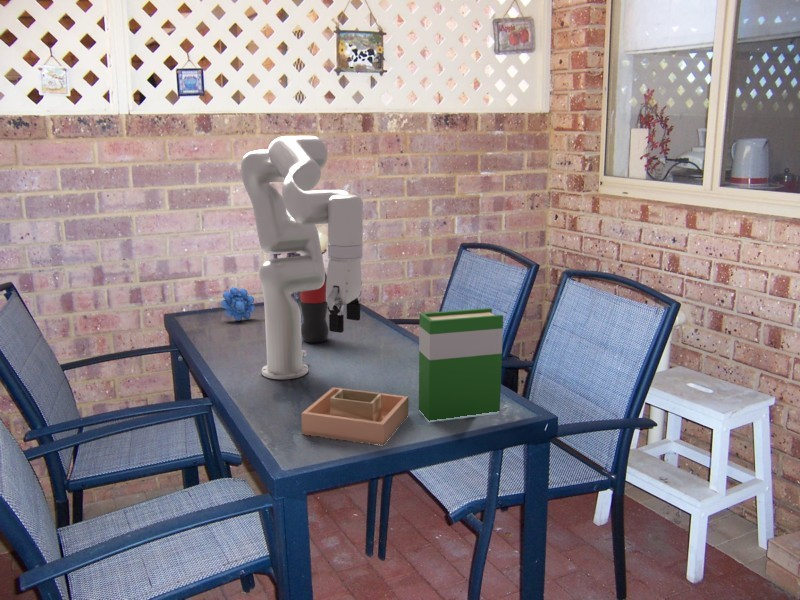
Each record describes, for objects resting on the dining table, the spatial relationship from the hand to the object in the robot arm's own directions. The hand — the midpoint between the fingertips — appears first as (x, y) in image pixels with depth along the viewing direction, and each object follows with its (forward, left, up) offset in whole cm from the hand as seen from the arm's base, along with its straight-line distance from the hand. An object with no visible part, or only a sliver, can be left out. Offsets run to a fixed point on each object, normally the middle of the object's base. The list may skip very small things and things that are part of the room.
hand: (345, 325), depth 166 cm
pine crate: (+4, +4, -21) cm, 22 cm away
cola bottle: (-53, -33, -22) cm, 66 cm away
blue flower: (-65, -67, -22) cm, 96 cm away
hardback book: (-11, +24, -22) cm, 35 cm away
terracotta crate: (+4, +4, -22) cm, 23 cm away
